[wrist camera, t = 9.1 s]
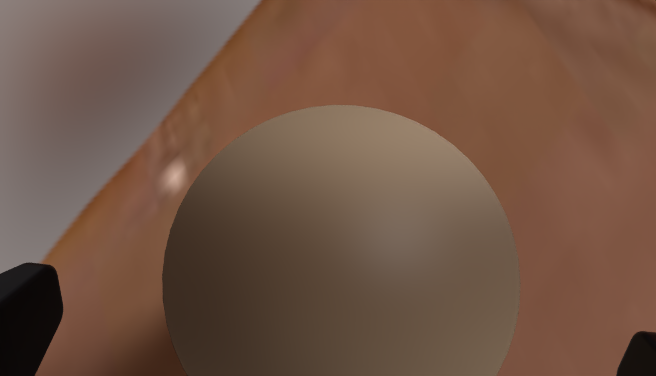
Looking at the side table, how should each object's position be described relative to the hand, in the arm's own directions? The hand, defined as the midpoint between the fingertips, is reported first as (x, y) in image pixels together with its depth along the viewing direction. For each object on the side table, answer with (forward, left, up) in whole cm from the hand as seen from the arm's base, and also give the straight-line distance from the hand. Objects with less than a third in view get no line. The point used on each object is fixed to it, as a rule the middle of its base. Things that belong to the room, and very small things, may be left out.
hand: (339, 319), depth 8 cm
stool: (+1, 0, -13) cm, 13 cm away
